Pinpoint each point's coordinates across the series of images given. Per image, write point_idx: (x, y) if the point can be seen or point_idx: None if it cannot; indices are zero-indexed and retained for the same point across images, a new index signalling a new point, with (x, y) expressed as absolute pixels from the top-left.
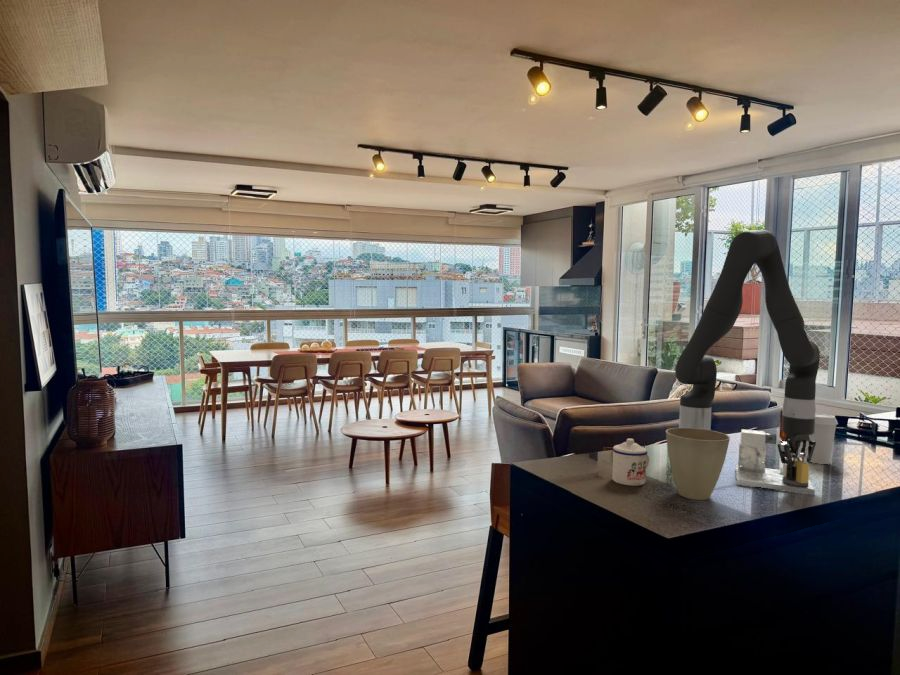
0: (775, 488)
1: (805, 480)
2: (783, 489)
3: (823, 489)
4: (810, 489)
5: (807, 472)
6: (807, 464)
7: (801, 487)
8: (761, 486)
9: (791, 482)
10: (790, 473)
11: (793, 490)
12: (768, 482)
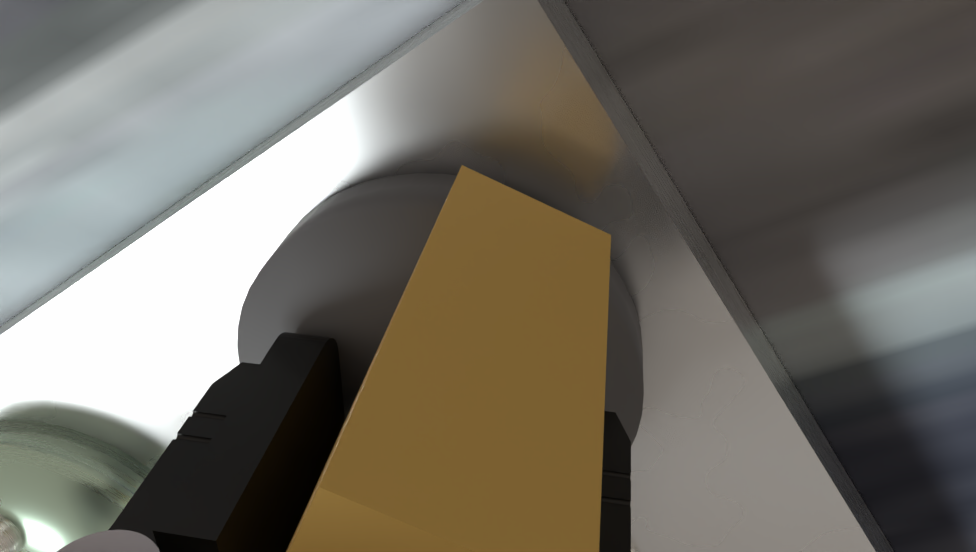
0: (810, 419)
1: (519, 222)
2: (766, 343)
3: (38, 61)
4: (559, 42)
5: (441, 315)
6: (389, 510)
7: (610, 187)
8: (879, 538)
9: (640, 362)
10: (623, 512)
11: (698, 240)
12: (785, 545)
